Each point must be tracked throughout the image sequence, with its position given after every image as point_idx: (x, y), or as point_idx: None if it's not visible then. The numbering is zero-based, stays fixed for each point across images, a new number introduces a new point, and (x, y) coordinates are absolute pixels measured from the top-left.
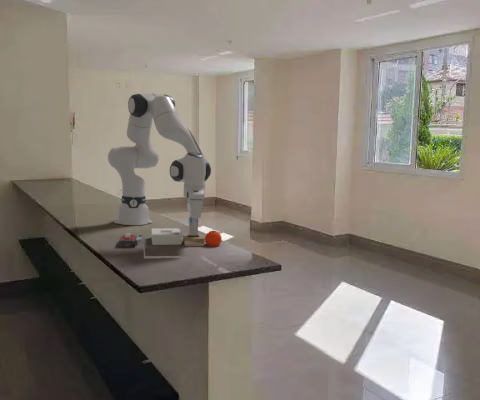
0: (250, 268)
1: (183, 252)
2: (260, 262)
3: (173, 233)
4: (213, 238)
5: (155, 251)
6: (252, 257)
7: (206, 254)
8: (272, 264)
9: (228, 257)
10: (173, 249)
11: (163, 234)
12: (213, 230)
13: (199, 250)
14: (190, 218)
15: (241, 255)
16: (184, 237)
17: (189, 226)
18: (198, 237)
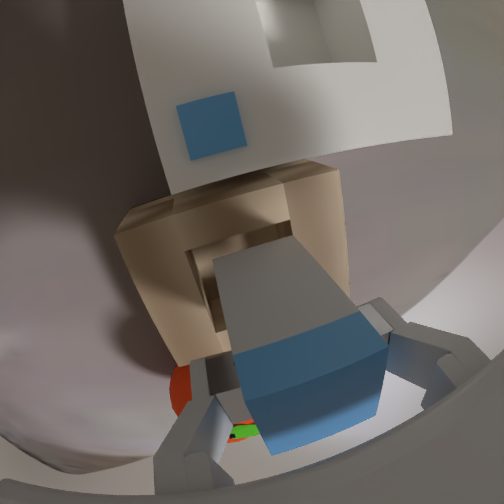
0: (7, 436)
1: (28, 230)
2: (68, 460)
3: (227, 86)
4: (175, 410)
5: (16, 54)
6: (106, 455)
7: (50, 348)
8: (69, 470)
9: (61, 412)
10: (78, 139)
11: (150, 2)
12: (230, 438)
13: (109, 308)
14: (290, 397)
15: (112, 440)
16: (165, 217)
17: (232, 311)
18: (201, 327)
